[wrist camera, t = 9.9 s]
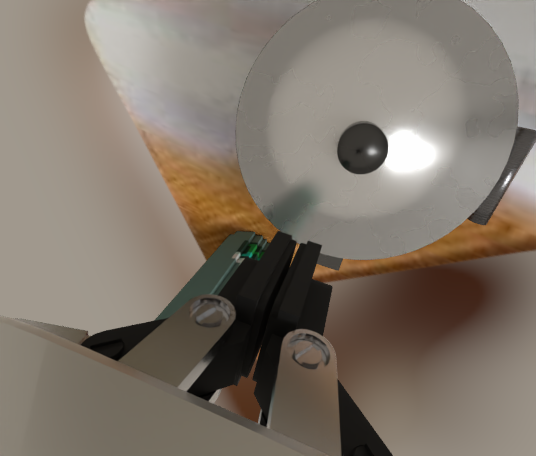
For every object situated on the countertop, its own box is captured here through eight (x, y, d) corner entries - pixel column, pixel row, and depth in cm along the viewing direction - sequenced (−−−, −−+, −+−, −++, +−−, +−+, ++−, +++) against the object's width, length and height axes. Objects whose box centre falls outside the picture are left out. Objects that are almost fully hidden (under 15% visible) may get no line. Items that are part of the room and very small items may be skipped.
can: (277, 282, 34) (226, 404, 21) (226, 278, 36) (150, 389, 23) (273, 232, 32) (212, 335, 19) (219, 230, 34) (128, 323, 21)
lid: (596, 23, 13) (645, 11, 11) (446, 282, 20) (458, 307, 17) (265, -39, 15) (250, -60, 13) (226, 217, 21) (211, 233, 19)
